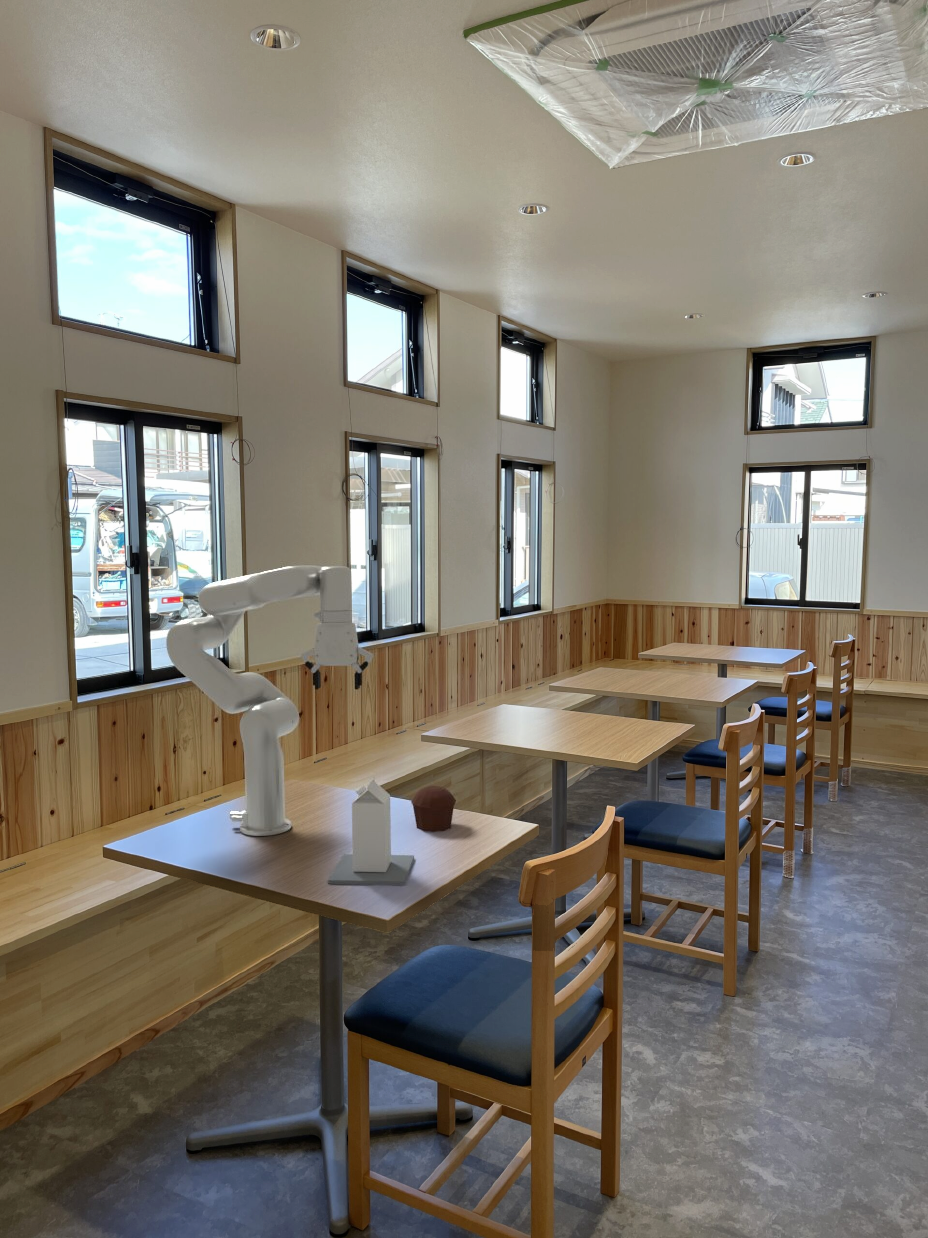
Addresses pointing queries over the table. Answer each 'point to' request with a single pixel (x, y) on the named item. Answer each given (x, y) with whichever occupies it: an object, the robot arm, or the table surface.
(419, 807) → the muffin
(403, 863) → the mat
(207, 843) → the table surface
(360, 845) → the milk carton
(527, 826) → the table surface
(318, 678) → the robot arm
